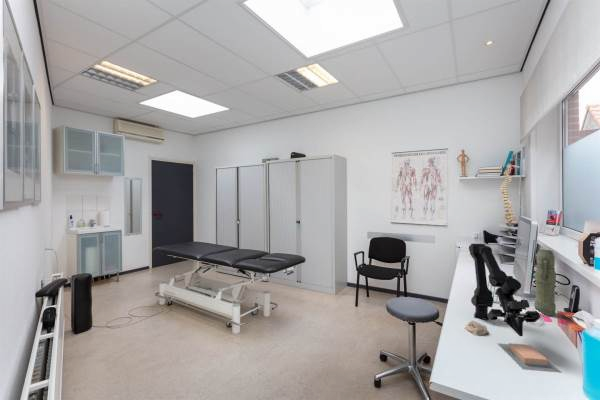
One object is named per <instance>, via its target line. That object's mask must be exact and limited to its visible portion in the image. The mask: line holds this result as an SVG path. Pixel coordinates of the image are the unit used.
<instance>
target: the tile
mask: <svg viewBox="0 0 600 400" xmlns="http://www.w3.org/2000/svg"><path fill="white" fill-rule="evenodd" d="M508 344H509V350H510V351H511V352H512V353H513V354H514V355H515V356H516V357H518V358H519V359H520V360H521V361H522V362H523V363H524V364H528V365H540V366H548V361H549V360H548V358H546V357H545V356H544V355H543V354H542V353H540V352H539V351H538V350H537V349H536V348H535V347H533V345H531V344H527V343H526V344H523V343H512V342H511V343H510V342H509V343H508Z"/></svg>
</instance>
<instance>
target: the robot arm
mask: <svg viewBox="0 0 600 400" xmlns="http://www.w3.org/2000/svg"><path fill="white" fill-rule="evenodd" d="M468 251H469V254H470V256H471V258H473V262H474V269H475V270H474V271H475V278H476V279H475V280H476V288H475V289H474V291H473V293H474V294H473V296H472V297H471V299H470V301H471V304H472V305H473V306H474V307H475V311H474V314H473V317H474V318H477V319H482V320H490V321H497V320H498V318H503V320H502V321H503V323H505V324H506V325H508V326H509V327H510V328H511V329H512V330H513V331H514V332H515V333H516V334H517V335H518V336H519V337H523V336H524V333H523V332H524V331H523V330H524V329H523V327H524V326H523V325H524V322H526V323H537V321H539V320H540V319H541V316H542V315H541V314H539V313H538V312H537V311H535V310H527V309H529V308H531V307H530V303H529V300H527V299H521V300H519V301H518V300H517V299H515V297H514V296H515V295H516V294H517V293H518V291H520V289H521V288H522V284H521V282H520V281H519V280H518V279H517V278H514V277H513V275H507V274H506V272H505V271H504V270H502V269H501V268H500V266H499V264H498V262H497V260H496V257H495V256H494V253H493V249H492V247H491V246H489V245H486V244H485V243H471V244H470V245H469V246H468ZM486 268H487V270H488V272H489V274H488V277H487V270H486ZM487 278H488V280H487ZM488 282H489V284H490V285H491V287H494V288H497V289H496V290H495V292H494V293H495V294H494V295H496V296H497V297H498V301H499V303H500V304H499V307H500V308H502V310H503V311H502V310H501V309H499V308H493V306H494V305H493V304H494V297H493V291H492V290H490V289H489V287H488ZM489 308H491V310H490V311H489ZM523 310H527V311H526V312H525V313H522V312H523Z"/></svg>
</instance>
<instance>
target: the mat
mask: <svg viewBox="0 0 600 400" xmlns="http://www.w3.org/2000/svg"><path fill="white" fill-rule="evenodd" d="M496 344H497V345H498V347H500V348H501V349H502V350H503V351H504V353H506V354H507V355H508V356H509V357H510V358H511V359H512V360H513V361H514V362H515V363H516V364H517V365H518V366H519V367H520V368H521V369H522V370H525V371H527V370H528V371H539V372H550V373H562V371H561V370H559V369H558V368H557V367H556V366H555V365H554V364H553V363H551V362H550V361H549V360H548V366H540V365H528V364H524V363H523V362H522V361H521V360H520V359H519V358H518V357H516V356H515V355H514V354H513V353H512V352H511V351H510V350H509V343H500V342H497V343H496Z"/></svg>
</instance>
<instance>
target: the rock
mask: <svg viewBox="0 0 600 400" xmlns="http://www.w3.org/2000/svg"><path fill="white" fill-rule="evenodd" d="M464 330H466V331H467V332H469V333H470V334H471V335H473V336H484V335H485V334H487V333H489V330H488V328H487V325H485V324H482V323H480V322H478V321H476V320H471V321H470V320H469V322H468V323H467V324H466V325H465V327H464Z"/></svg>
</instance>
